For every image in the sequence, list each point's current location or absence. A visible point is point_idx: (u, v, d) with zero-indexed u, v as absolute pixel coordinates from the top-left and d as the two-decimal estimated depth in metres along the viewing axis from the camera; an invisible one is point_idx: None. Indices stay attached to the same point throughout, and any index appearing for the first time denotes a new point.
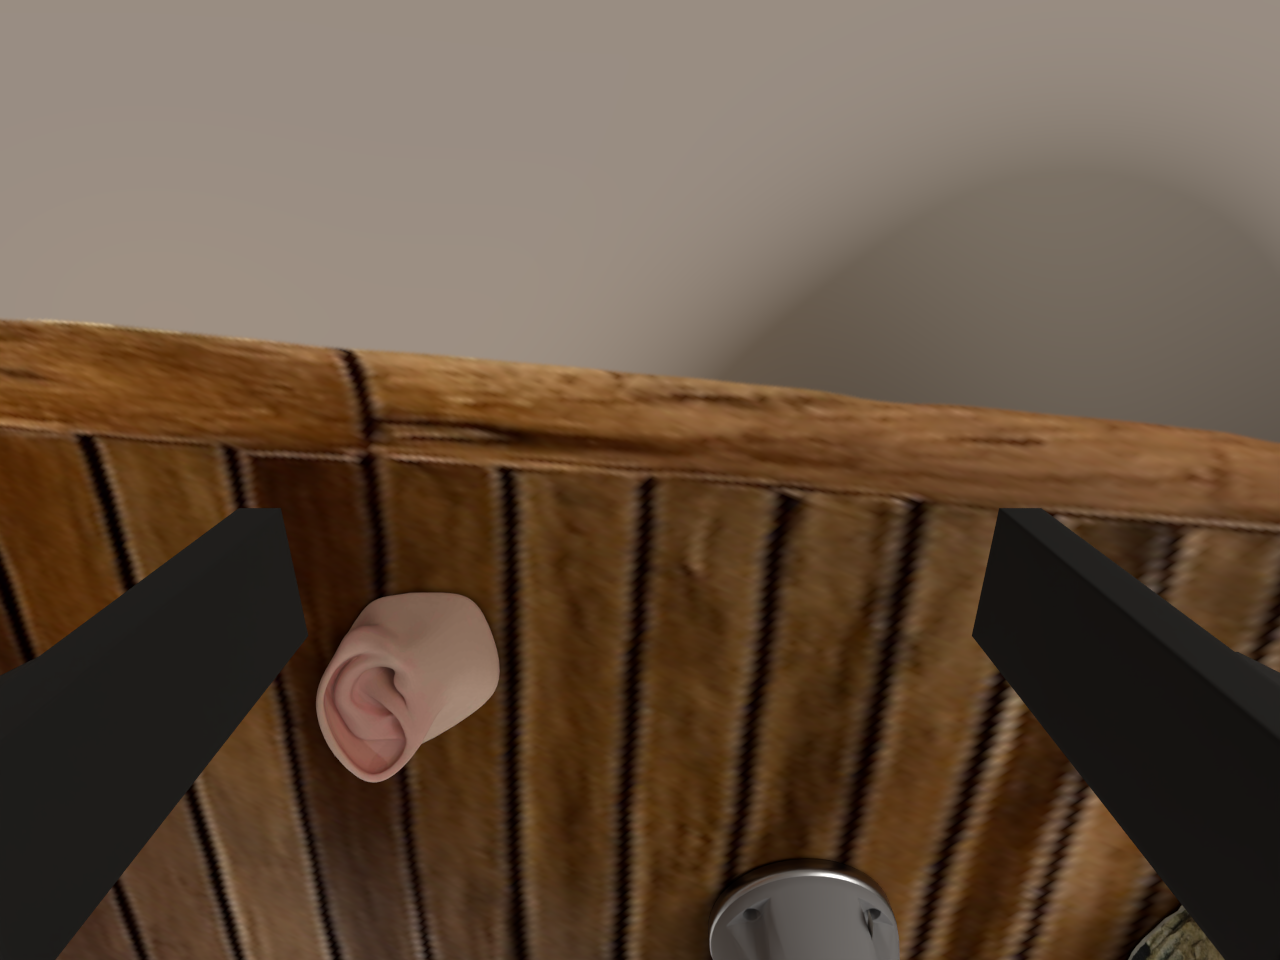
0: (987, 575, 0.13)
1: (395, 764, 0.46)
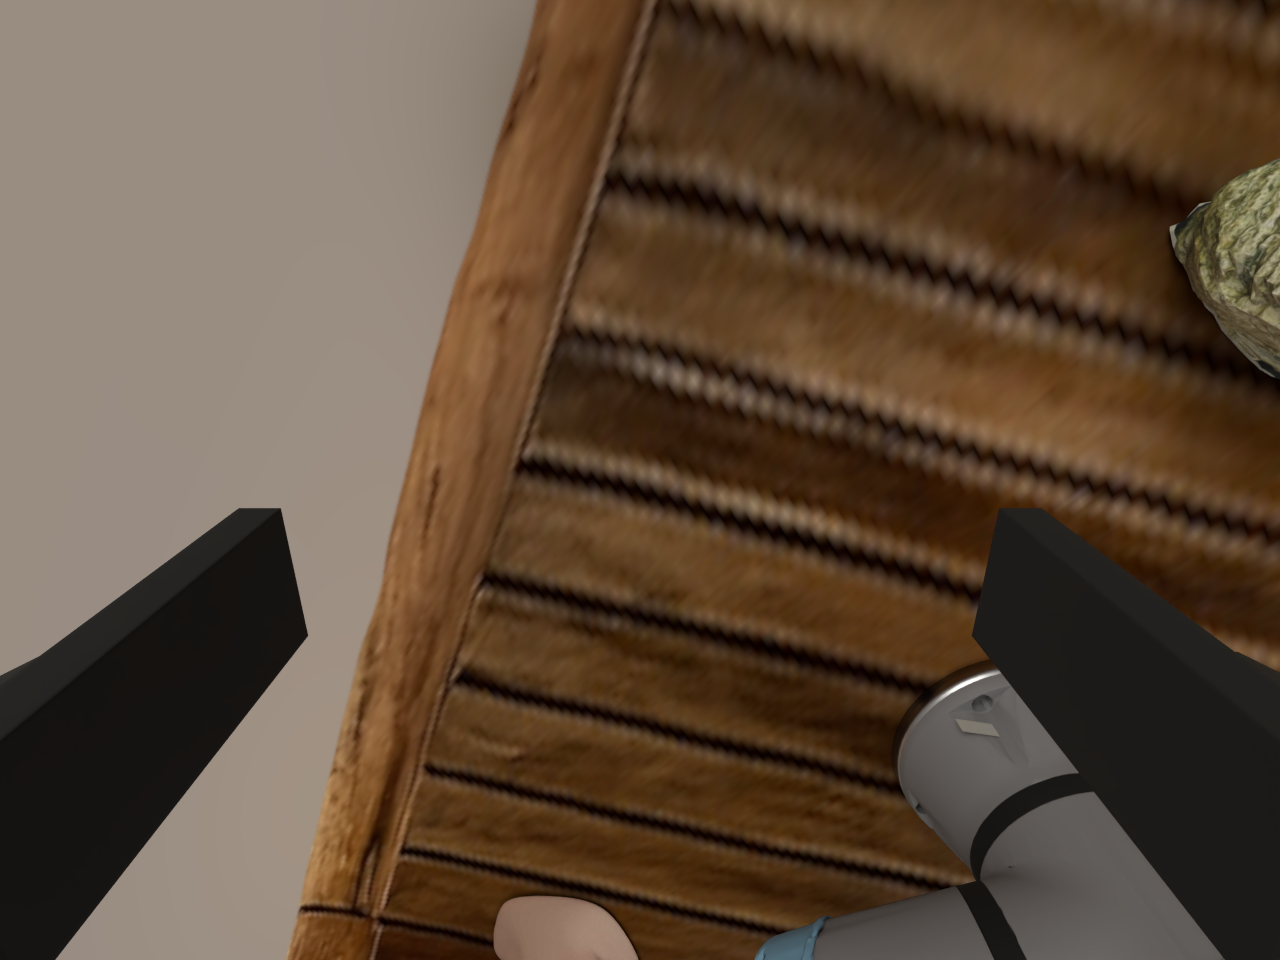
0: (987, 575, 0.13)
1: None
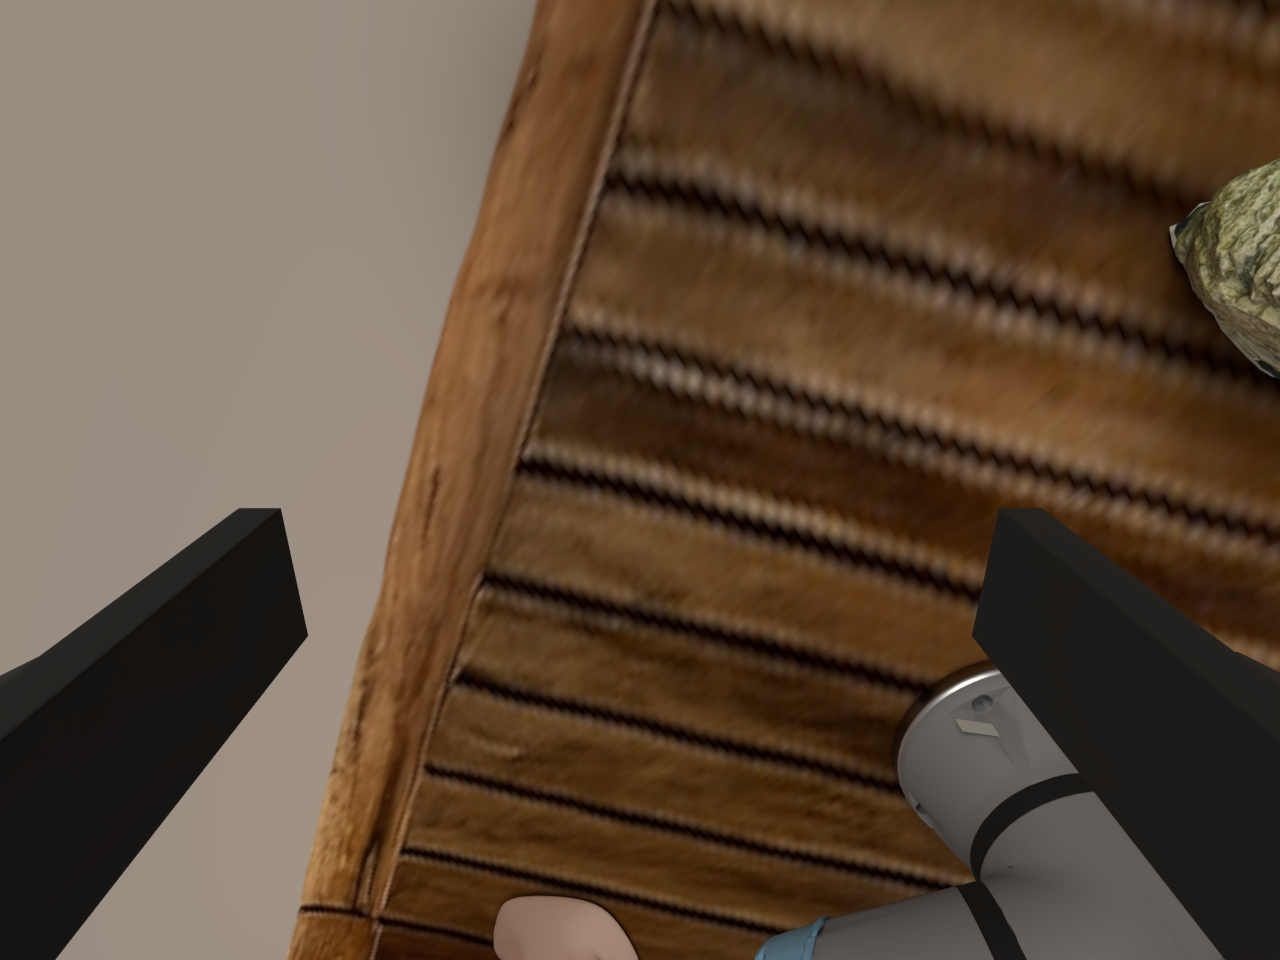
0: (987, 575, 0.13)
1: None
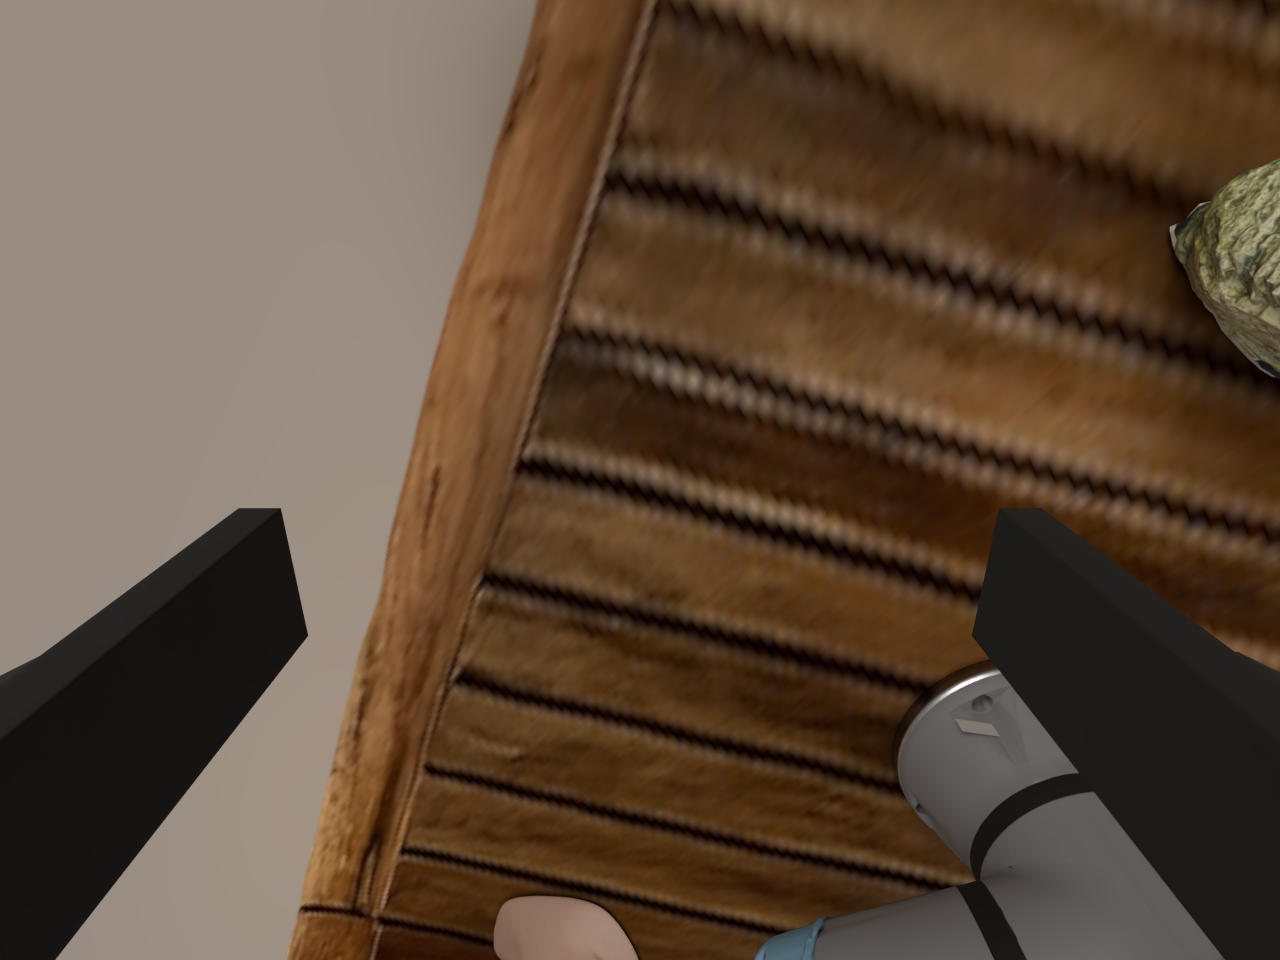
0: (987, 575, 0.13)
1: None
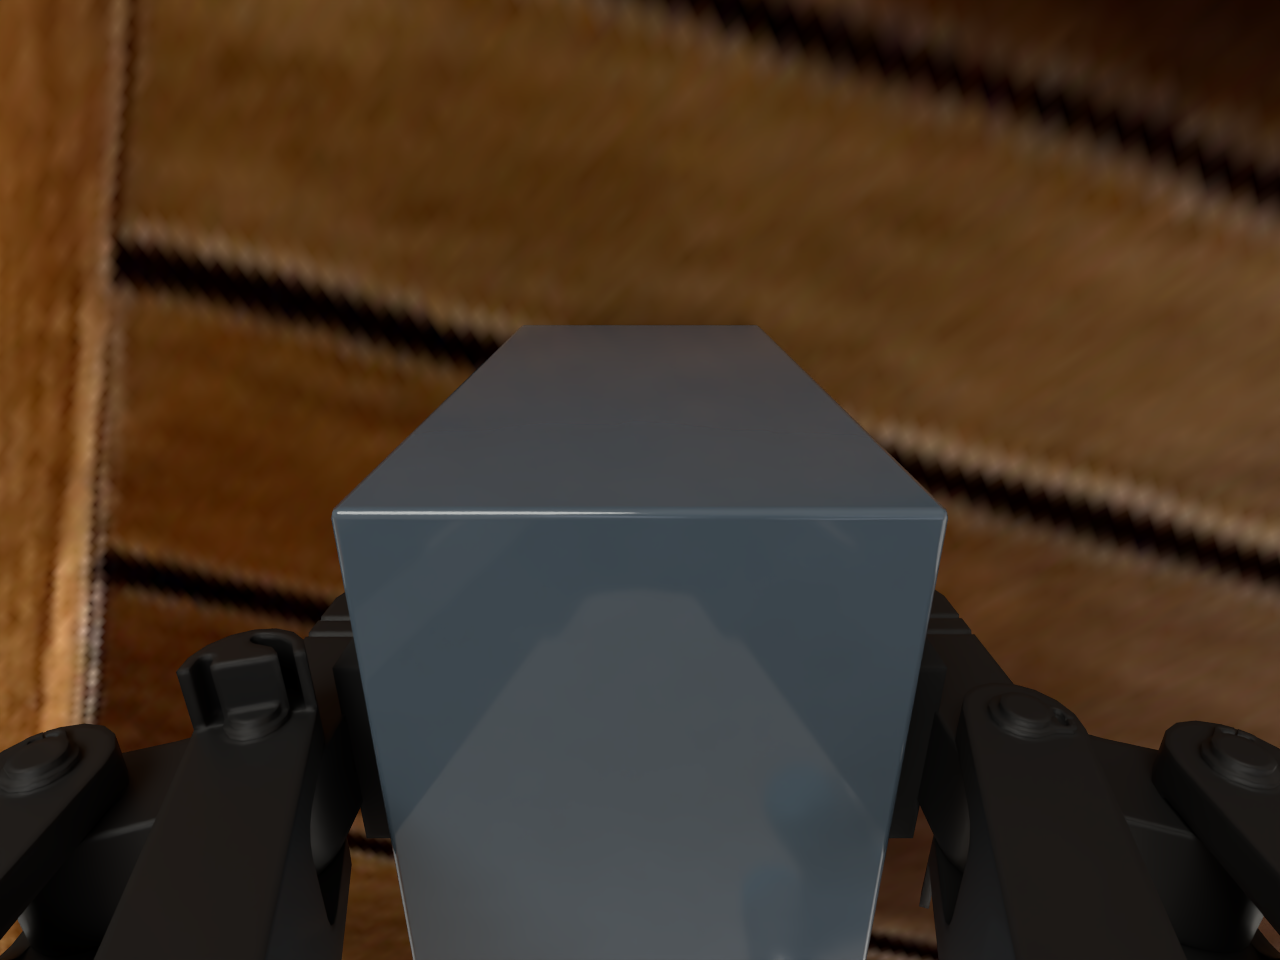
0: None
1: None
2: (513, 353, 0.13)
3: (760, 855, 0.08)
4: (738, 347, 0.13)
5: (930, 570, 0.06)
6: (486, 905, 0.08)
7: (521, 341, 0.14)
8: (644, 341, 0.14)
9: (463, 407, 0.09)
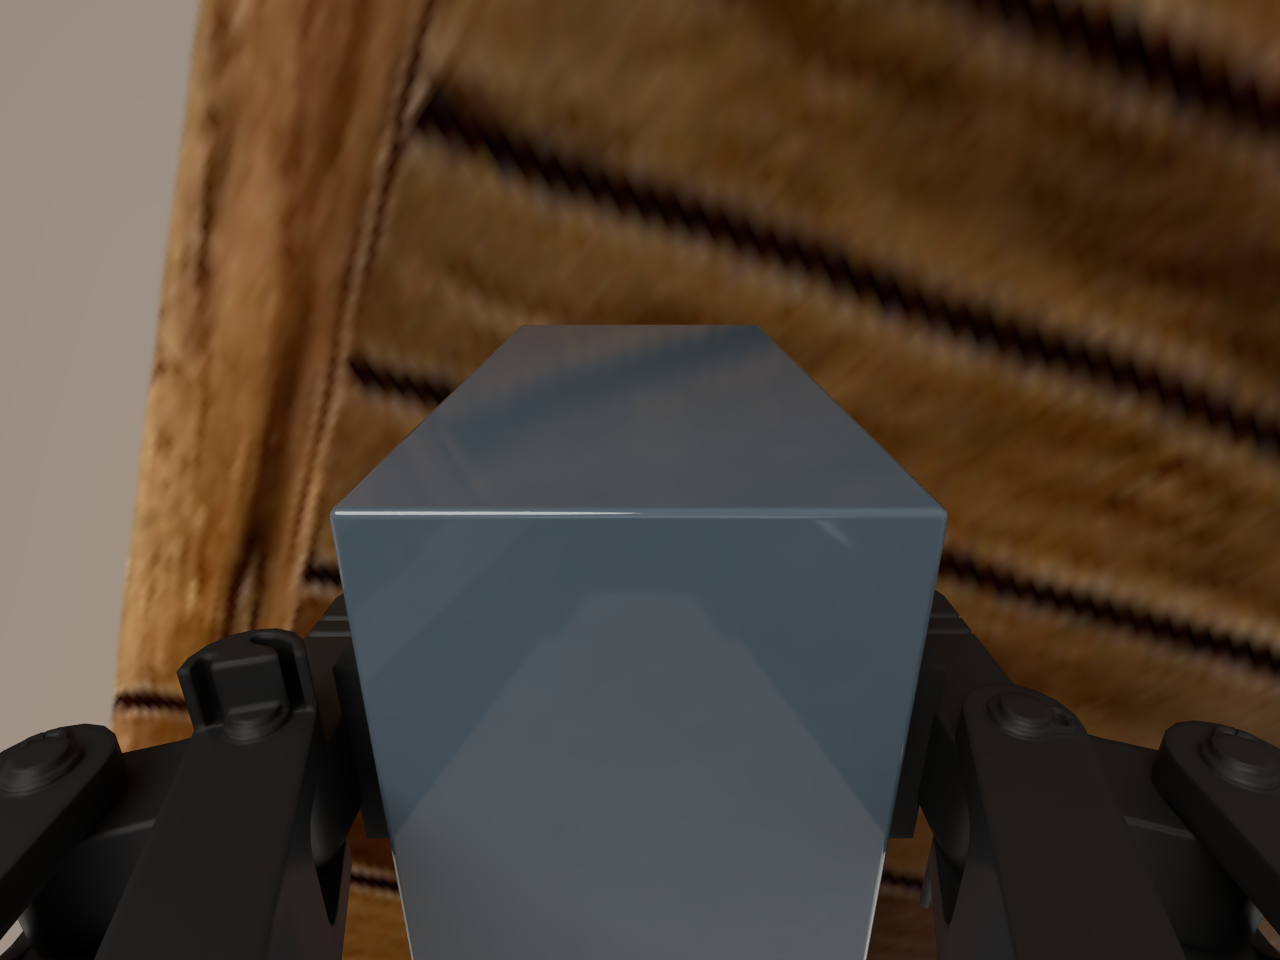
0: None
1: None
2: (512, 353, 0.13)
3: (760, 856, 0.08)
4: (738, 347, 0.13)
5: (930, 570, 0.06)
6: (484, 906, 0.08)
7: (520, 341, 0.14)
8: (644, 341, 0.14)
9: (462, 407, 0.09)
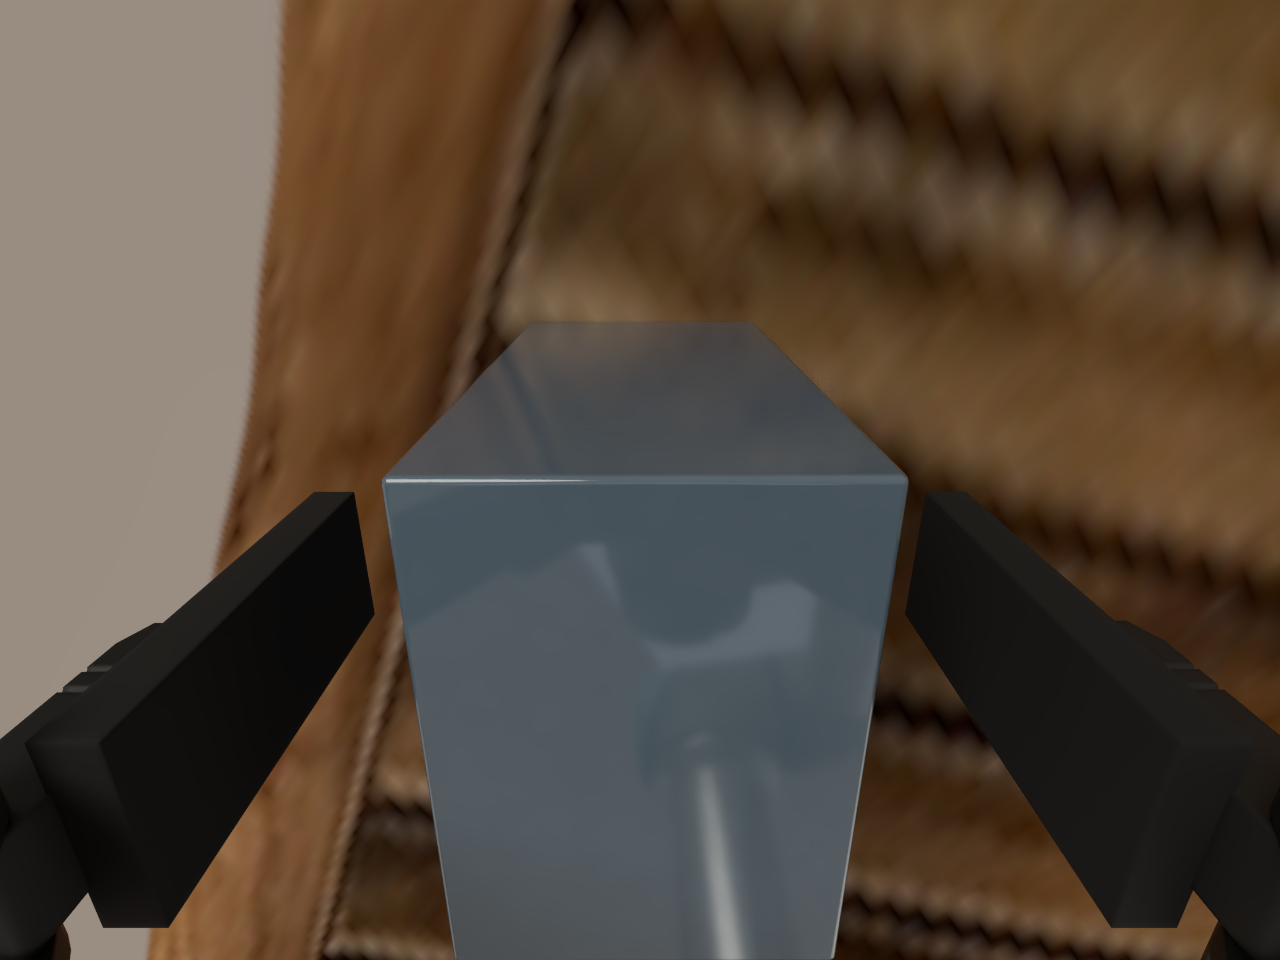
0: (918, 556, 0.13)
1: None
2: (525, 348, 0.14)
3: (751, 785, 0.09)
4: (733, 342, 0.14)
5: (894, 528, 0.07)
6: (509, 832, 0.09)
7: (531, 337, 0.15)
8: (646, 337, 0.15)
9: (484, 394, 0.10)
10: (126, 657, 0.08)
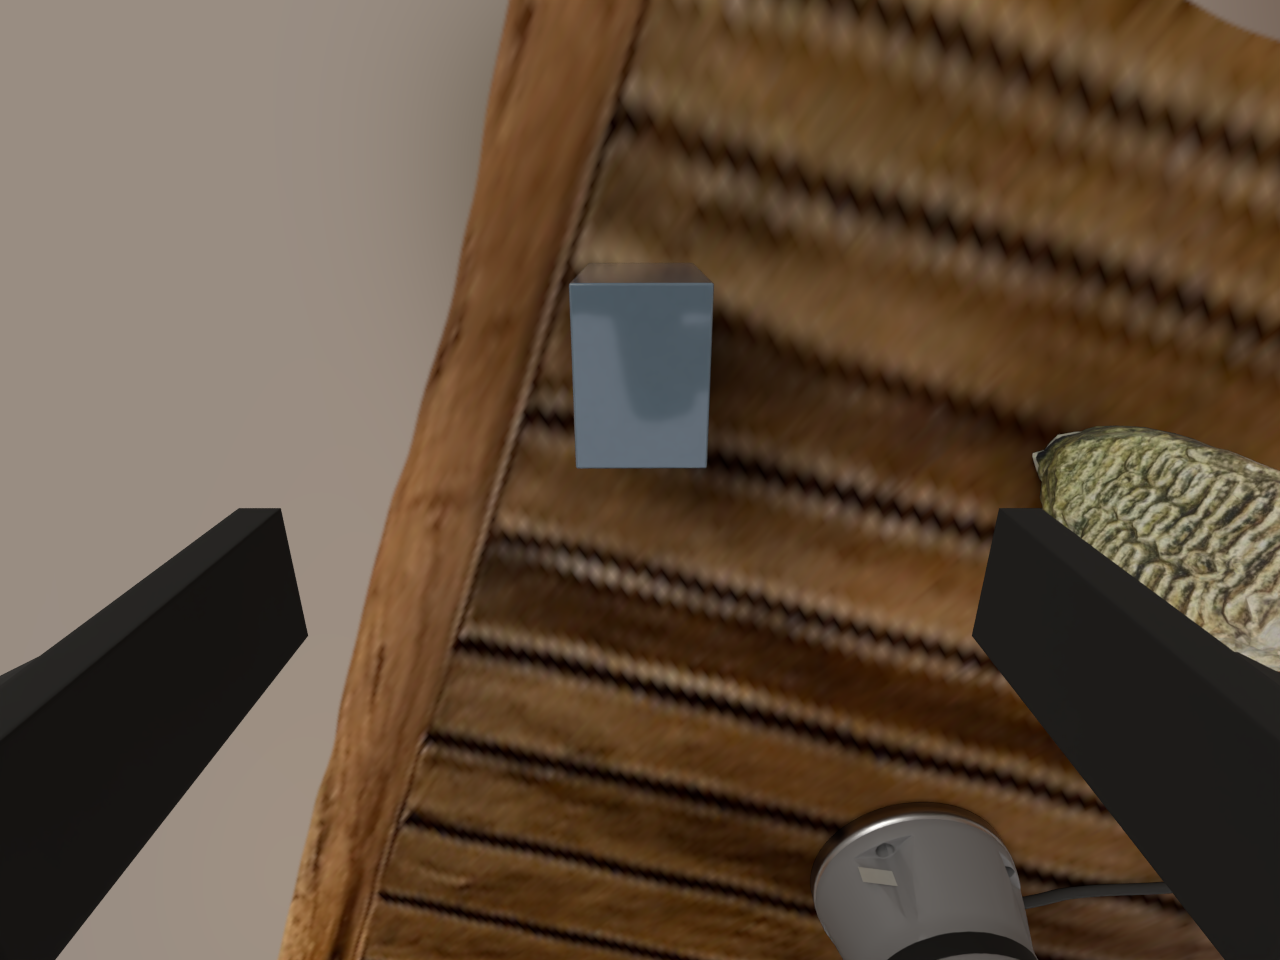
0: (987, 576, 0.13)
1: None
2: (591, 268, 0.33)
3: (674, 391, 0.28)
4: (680, 267, 0.34)
5: (710, 298, 0.27)
6: (598, 409, 0.28)
7: (592, 266, 0.34)
8: (642, 266, 0.34)
9: (585, 275, 0.30)
10: None
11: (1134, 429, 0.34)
